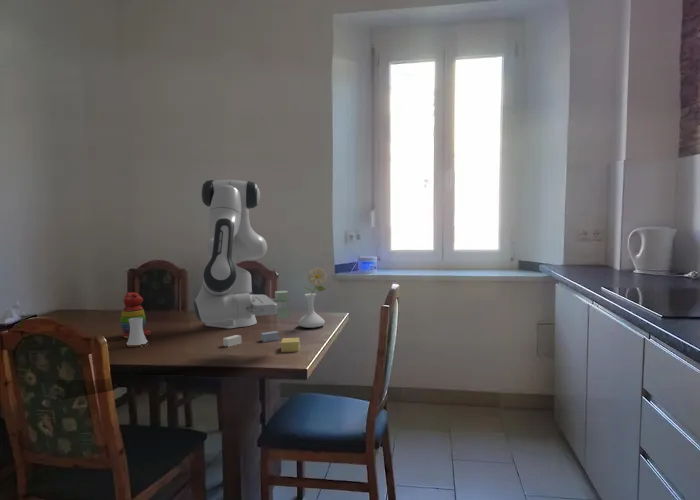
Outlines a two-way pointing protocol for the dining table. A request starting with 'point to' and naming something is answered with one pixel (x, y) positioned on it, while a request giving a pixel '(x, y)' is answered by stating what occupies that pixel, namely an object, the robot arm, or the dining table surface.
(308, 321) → the flower in vase
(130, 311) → the stacking bear
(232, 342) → the cream brick
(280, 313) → the green brick
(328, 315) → the dining table surface
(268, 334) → the slate brick
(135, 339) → the vase
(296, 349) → the mustard brick
